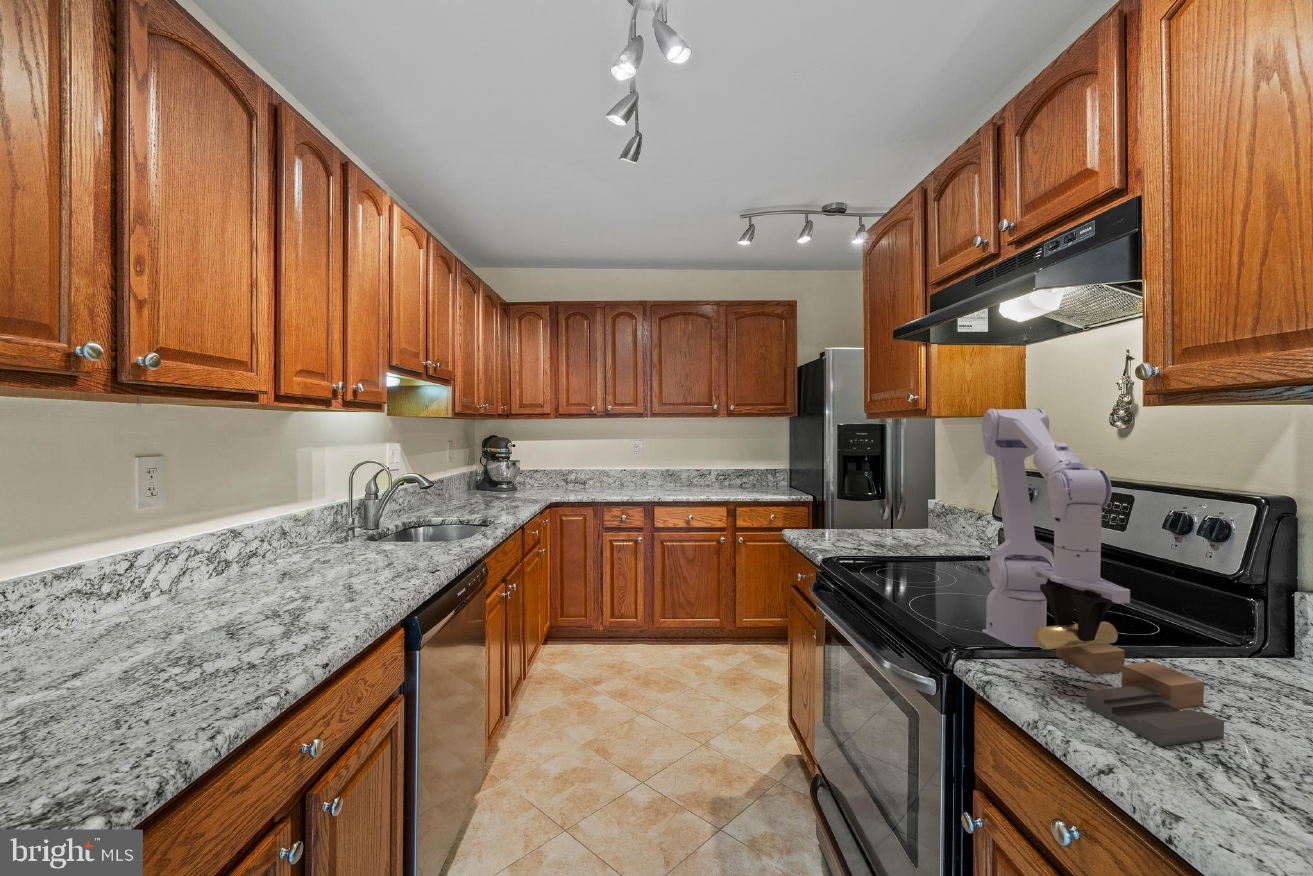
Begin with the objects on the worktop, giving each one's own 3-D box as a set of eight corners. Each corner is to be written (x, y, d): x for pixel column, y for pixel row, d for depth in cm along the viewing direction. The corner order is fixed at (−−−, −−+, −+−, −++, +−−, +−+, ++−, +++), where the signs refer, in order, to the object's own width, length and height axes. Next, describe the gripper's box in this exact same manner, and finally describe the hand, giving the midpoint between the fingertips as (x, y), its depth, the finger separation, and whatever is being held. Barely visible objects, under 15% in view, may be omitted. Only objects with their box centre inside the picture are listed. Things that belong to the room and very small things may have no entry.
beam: (1056, 656, 96) (1056, 637, 96) (1084, 653, 98) (1085, 634, 97) (1170, 709, 79) (1170, 685, 79) (1203, 705, 80) (1204, 682, 80)
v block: (1086, 706, 80) (1086, 691, 79) (1142, 699, 81) (1142, 685, 81) (1161, 746, 70) (1162, 729, 70) (1223, 737, 72) (1224, 721, 72)
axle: (1052, 652, 82) (1051, 630, 82) (1033, 645, 85) (1032, 624, 86) (1118, 646, 85) (1117, 625, 85) (1097, 639, 88) (1096, 619, 88)
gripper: (1015, 538, 91) (1013, 620, 91) (1101, 560, 77) (1099, 657, 77) (1051, 537, 92) (1049, 617, 93) (1143, 558, 78) (1140, 652, 79)
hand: (1075, 635), depth 85 cm, fingers closed on axle, 3 cm apart
